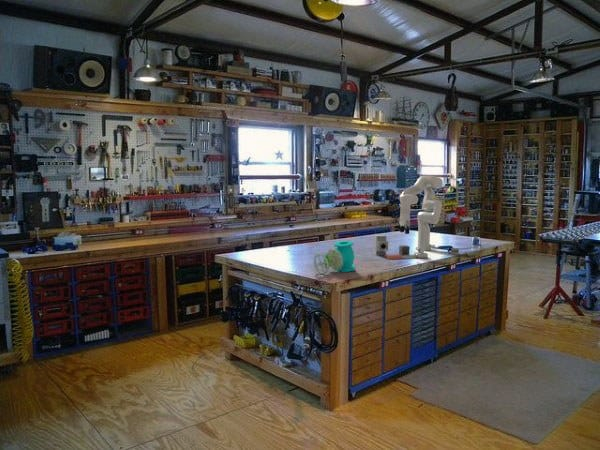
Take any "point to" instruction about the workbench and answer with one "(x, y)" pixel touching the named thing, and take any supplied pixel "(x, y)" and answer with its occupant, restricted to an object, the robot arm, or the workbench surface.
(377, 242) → the circuit breaker
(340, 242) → the valve
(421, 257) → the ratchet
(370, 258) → the workbench surface
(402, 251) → the socket
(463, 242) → the workbench surface
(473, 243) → the workbench surface
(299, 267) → the workbench surface
